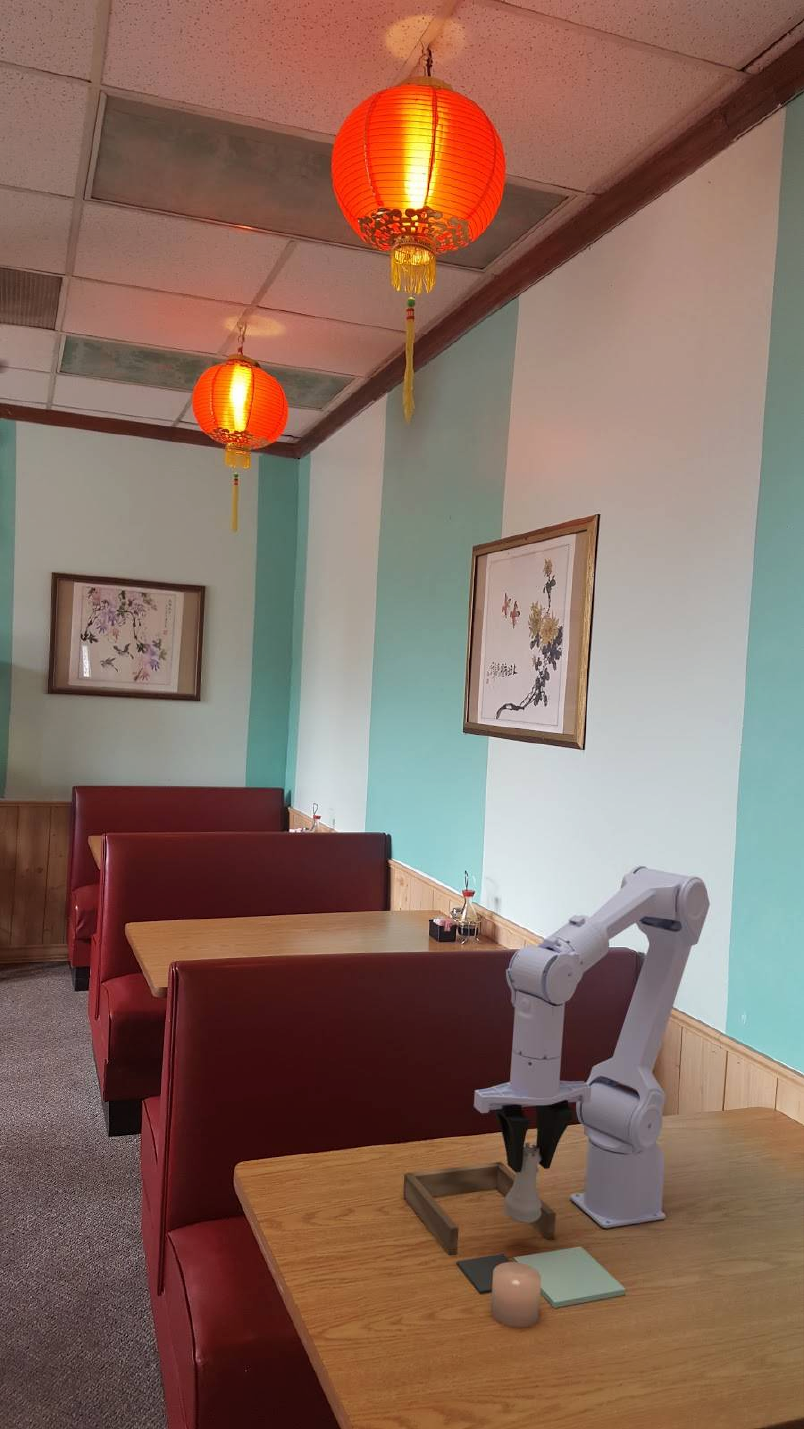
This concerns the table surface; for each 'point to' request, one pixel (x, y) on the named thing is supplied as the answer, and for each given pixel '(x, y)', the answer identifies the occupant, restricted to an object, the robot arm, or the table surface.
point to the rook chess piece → (525, 1189)
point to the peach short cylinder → (515, 1294)
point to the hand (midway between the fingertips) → (528, 1166)
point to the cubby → (458, 1181)
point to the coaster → (571, 1277)
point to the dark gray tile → (481, 1270)
